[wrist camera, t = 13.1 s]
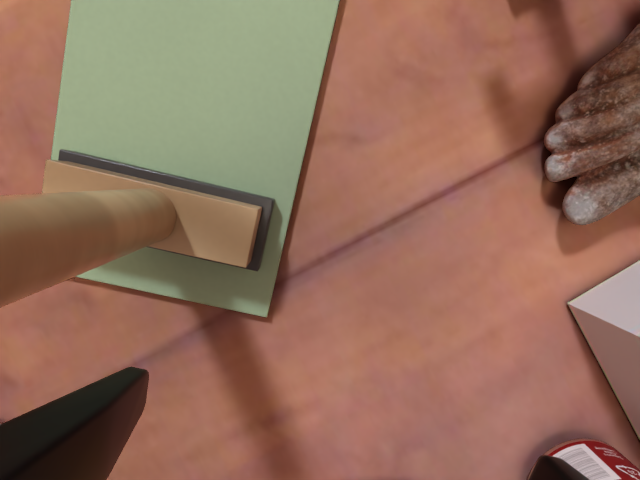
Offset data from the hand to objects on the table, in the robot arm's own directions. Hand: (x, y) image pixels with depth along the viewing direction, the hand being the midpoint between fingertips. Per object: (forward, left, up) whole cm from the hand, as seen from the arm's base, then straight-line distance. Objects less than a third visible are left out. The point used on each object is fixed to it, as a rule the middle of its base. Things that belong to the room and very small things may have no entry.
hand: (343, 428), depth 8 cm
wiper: (-7, +6, -13) cm, 16 cm away
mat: (-4, +10, -13) cm, 18 cm away
